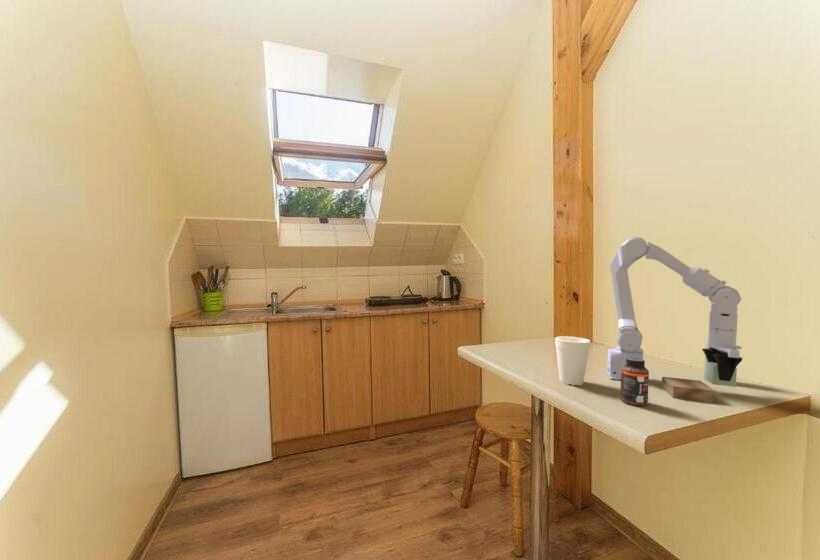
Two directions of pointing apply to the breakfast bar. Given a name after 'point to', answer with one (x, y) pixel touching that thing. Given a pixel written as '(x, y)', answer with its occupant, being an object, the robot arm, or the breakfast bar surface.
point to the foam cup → (572, 358)
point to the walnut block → (688, 389)
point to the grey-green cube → (713, 376)
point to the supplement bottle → (634, 382)
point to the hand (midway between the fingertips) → (720, 377)
